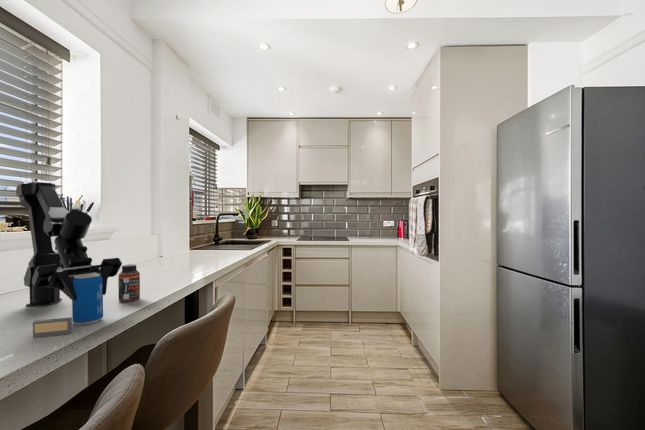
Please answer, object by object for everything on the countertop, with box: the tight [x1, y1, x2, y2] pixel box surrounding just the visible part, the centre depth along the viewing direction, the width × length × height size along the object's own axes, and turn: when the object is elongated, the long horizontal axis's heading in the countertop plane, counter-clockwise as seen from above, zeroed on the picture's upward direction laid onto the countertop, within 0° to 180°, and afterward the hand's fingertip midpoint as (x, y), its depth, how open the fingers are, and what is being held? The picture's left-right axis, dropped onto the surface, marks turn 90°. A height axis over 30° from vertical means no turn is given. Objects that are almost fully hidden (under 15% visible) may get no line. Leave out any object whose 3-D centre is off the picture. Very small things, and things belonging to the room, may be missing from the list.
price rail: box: [32, 317, 73, 338], centre depth 76 cm, size 7×1×4 cm, turn 107°
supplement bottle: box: [117, 264, 141, 303], centre depth 105 cm, size 6×6×11 cm
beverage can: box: [71, 273, 104, 326], centre depth 85 cm, size 6×6×12 cm
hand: (90, 296), depth 84 cm, fingers closed on beverage can, 6 cm apart
